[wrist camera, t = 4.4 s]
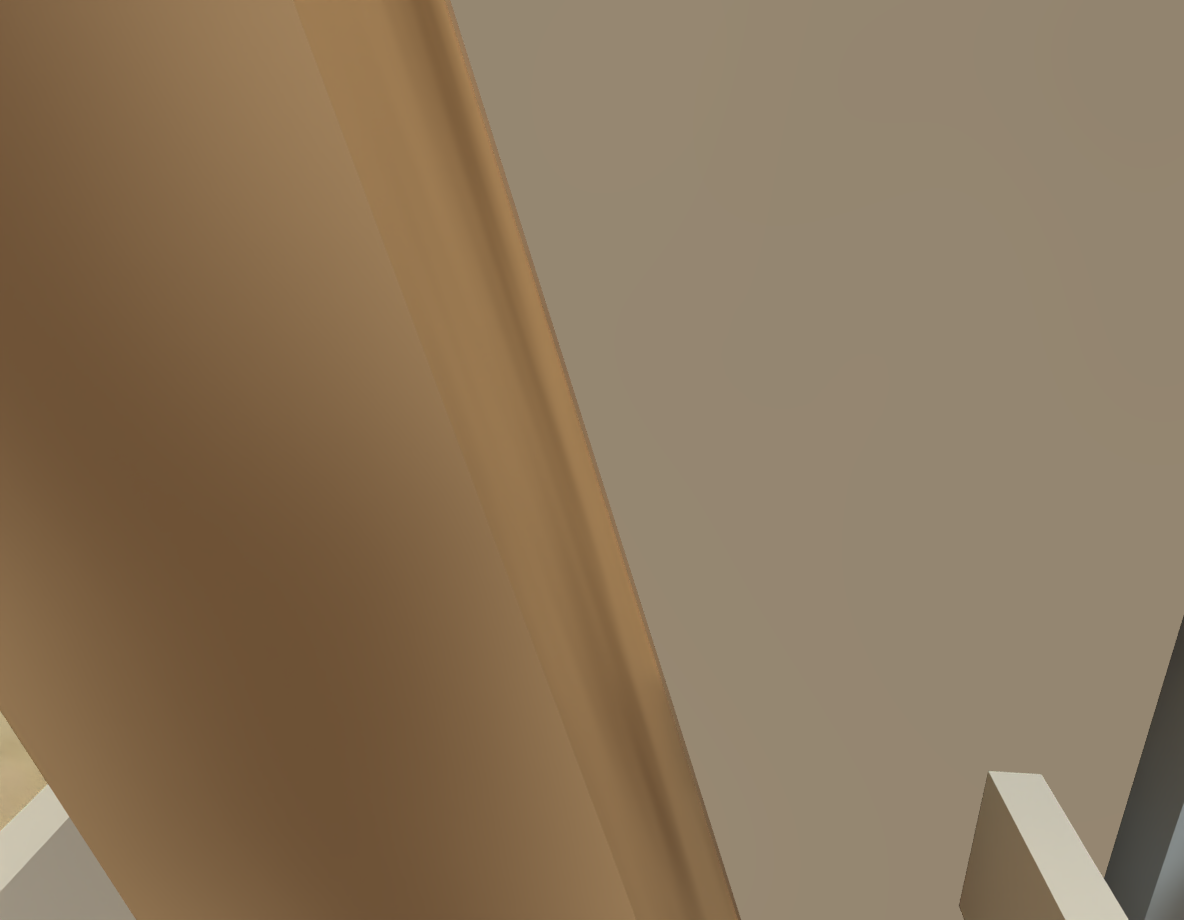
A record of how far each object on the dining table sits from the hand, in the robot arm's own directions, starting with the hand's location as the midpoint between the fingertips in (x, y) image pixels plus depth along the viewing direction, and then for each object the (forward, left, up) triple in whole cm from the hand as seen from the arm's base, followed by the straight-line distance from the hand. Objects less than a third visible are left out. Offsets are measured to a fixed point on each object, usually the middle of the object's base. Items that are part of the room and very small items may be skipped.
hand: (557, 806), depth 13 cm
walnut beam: (0, 0, -1) cm, 1 cm away
